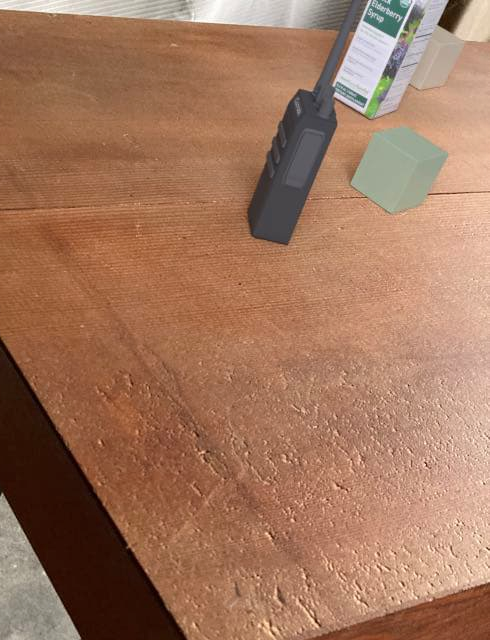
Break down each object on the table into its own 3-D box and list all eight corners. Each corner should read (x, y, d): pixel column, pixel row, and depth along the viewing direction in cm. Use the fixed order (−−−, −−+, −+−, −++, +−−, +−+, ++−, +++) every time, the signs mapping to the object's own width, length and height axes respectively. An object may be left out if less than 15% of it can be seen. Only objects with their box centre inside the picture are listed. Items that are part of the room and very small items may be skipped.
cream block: (443, 86, 112) (465, 41, 108) (419, 90, 109) (441, 44, 106) (410, 65, 114) (431, 21, 110) (385, 69, 111) (406, 23, 108)
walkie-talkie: (243, 208, 81) (346, -58, 66) (282, 217, 81) (392, -45, 67) (248, 238, 77) (357, -34, 63) (288, 248, 78) (406, -20, 64)
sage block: (422, 205, 89) (449, 153, 86) (390, 214, 86) (417, 161, 83) (381, 176, 91) (406, 125, 88) (349, 184, 89) (373, 131, 85)
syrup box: (325, 95, 102) (390, -59, 91) (354, 86, 105) (418, -62, 95) (370, 121, 100) (441, -32, 89) (397, 111, 103) (468, -37, 93)
